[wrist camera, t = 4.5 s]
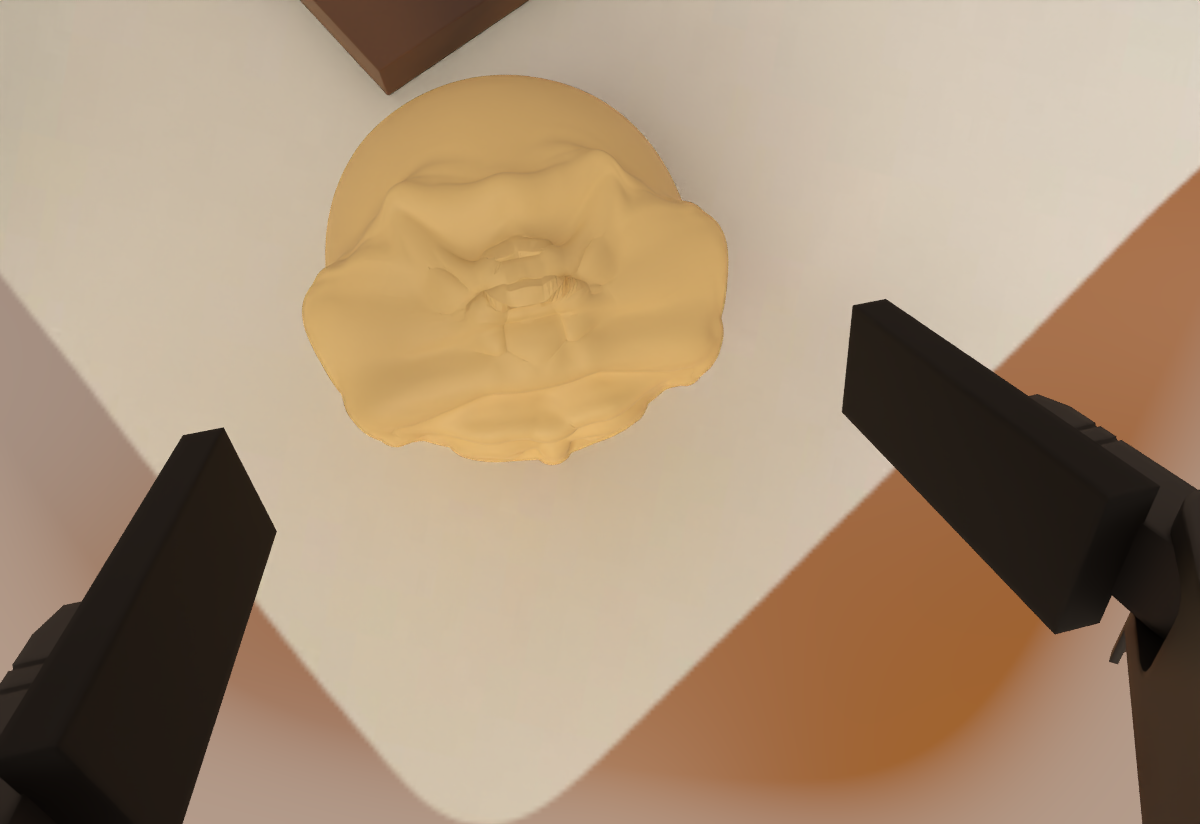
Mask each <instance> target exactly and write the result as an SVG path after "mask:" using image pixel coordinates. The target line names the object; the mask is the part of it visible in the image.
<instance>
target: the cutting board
mask: <svg viewBox="0 0 1200 824" xmlns="http://www.w3.org/2000/svg"><path fill="white" fill-rule="evenodd" d="M300 1H301V2H302V3H303V4H304V5H305V6H306V7H307V8H308V9H309V11H310V12H311V13H312V14H313V15H314V16H315V17H316V18H317V19H318V20H319V21H320V22H321V24H322V25H323V26H324V27H325V28H326V29H327V30H328V31H329V32H330V33H331V34H332V35H333V37H334V38H335V39H336V40H337V41H338V42H339V43H340V44H341V45H342V46H343V47H344V48H345V50H346V51H347V52H348V53H349V54H350V55H351V56H352V57H353V58H354V59H355V60H356V61H357V63H358V64H359V65H360V66H361V67H362V68H363V69H364V70H365V71H366V72H367V73H368V74H369V76H370V77H371V78H372V79H373V80H374V81H375V82H376V83H377V84H378V85H379V86H380V87H381V89H382V90H383V91H384V92H385V93H386V94H387V95H390V94H391V93H393V92H394V91H396V90H397V89H399V88H400V87H402V86H403V85H405V84H406V83H408V82H409V81H410V80H412V79H413V78H415V77H416V76H418V75H419V74H421V73H422V72H424V71H425V70H427V69H428V68H430V67H431V66H433V65H434V64H436V63H437V62H438V61H440V60H441V59H443V58H444V57H446V56H447V55H449V54H450V53H452V52H453V51H455V50H456V49H458V48H459V47H461V46H462V45H463V44H465V43H466V42H468V41H469V40H471V39H472V38H474V37H475V36H477V35H478V34H480V33H481V32H483V31H484V30H486V29H487V28H489V27H490V26H491V25H493V24H494V23H496V22H497V21H499V20H500V19H502V18H503V17H505V16H506V15H508V14H509V13H511V12H512V11H514V10H515V9H516V8H518V7H519V6H521V5H522V4H524V3H525V2H527V1H528V0H300Z"/></svg>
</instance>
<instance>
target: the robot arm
mask: <svg viewBox="0 0 1200 824" xmlns="http://www.w3.org/2000/svg"><path fill="white" fill-rule="evenodd" d="M842 413H843V414H844V415H845V416H846V417H847V418H848V419H849V420H850V421H851V422H852V423H853V424H854V425H855V426H856V427H857V428H858V429H859V430H860V431H861V433H862V434H863V435H864V436H865V437H866V438H867V439H868V440H869V441H870V442H871V443H872V444H873V445H874V446H875V447H876V448H877V449H878V450H879V451H880V452H881V453H882V454H883V456H884V457H885V458H886V459H887V460H888V461H889V462H890V463H891V464H892V465H893V466H894V467H895V468H896V469H897V470H898V471H899V472H900V473H901V474H902V475H903V476H904V477H905V478H906V479H907V481H908V482H909V483H910V484H911V485H912V486H913V487H914V488H915V489H916V490H917V491H918V492H919V493H920V494H921V495H922V496H923V497H924V498H925V499H926V500H927V501H928V502H929V503H930V505H931V506H932V507H933V508H934V509H935V510H936V511H937V512H938V513H939V514H940V515H941V516H942V517H943V518H944V519H945V520H946V521H947V522H948V523H949V524H950V525H951V526H952V528H953V529H954V530H955V531H957V533H958V534H959V535H960V536H961V537H962V538H963V539H964V540H965V541H966V542H967V543H968V544H969V545H970V546H971V547H972V548H973V549H974V551H975V552H976V553H977V554H978V555H979V556H980V557H981V558H982V559H983V560H984V561H985V562H986V563H987V564H988V565H989V566H990V567H991V568H992V569H993V570H994V571H995V572H996V574H998V576H999V577H1000V578H1001V579H1002V580H1003V581H1004V582H1005V583H1006V584H1007V585H1008V586H1009V587H1010V588H1011V589H1012V590H1013V591H1014V592H1015V593H1016V594H1017V595H1018V596H1019V597H1020V598H1021V600H1022V601H1023V602H1024V603H1025V604H1026V605H1027V606H1028V607H1029V608H1030V609H1031V610H1032V611H1033V612H1034V613H1035V614H1036V615H1037V616H1038V617H1039V618H1040V619H1041V620H1042V622H1043V623H1044V624H1045V625H1046V626H1047V627H1048V628H1049V629H1050V630H1051V631H1052V632H1053V633H1054V634H1058V633H1062V632H1066V631H1070V630H1074V629H1078V628H1081V627H1085V626H1090V625H1094V624H1097V623H1100V620H1101V618H1102V616H1103V614H1104V612H1105V609H1106V607H1107V605H1108V603H1109V600H1110V598H1111V596H1114V597H1115V598H1116V599H1117V600H1118V601H1119V602H1120V603H1122V605H1124V606H1125V607H1126V608H1127V609H1128V610H1129V611H1130V614H1129V617H1128V618H1127V621H1126V622H1125V625H1124V627H1123V629H1122V631H1121V633H1120V635H1119V637H1118V640H1117V641H1116V643H1115V646H1114V648H1113V650H1112V652H1111V656H1110V660H1109V662H1112V663H1115V664H1118V663H1119V661H1120V659H1121V657H1122V655H1123V653H1124V652H1127V663H1128V674H1129V684H1130V695H1131V706H1132V717H1133V728H1134V738H1135V749H1136V760H1137V771H1138V781H1139V792H1140V802H1141V814H1142V824H1200V490H1197V489H1196V488H1194V487H1193V486H1191V485H1190V484H1188V483H1187V482H1185V481H1183V480H1182V479H1180V478H1179V477H1177V476H1176V475H1174V474H1173V473H1171V472H1170V471H1168V470H1167V469H1165V468H1164V467H1162V466H1161V465H1159V464H1158V463H1156V462H1154V461H1153V460H1151V459H1150V458H1148V457H1147V456H1145V455H1144V454H1142V453H1141V452H1139V451H1138V450H1136V449H1135V448H1133V447H1131V446H1130V445H1128V444H1127V443H1125V442H1124V441H1122V440H1120V441H1118V440H1117V439H1116V436H1114V435H1113V434H1112V433H1110V432H1109V431H1107V430H1105V429H1104V428H1102V427H1101V426H1100V427H1096V425H1095V422H1093V421H1092V420H1090V419H1089V418H1087V417H1086V416H1084V415H1082V414H1081V413H1079V412H1077V411H1076V410H1075V409H1073V408H1072V407H1070V406H1068V405H1065V404H1062V403H1060V402H1057V401H1054V400H1052V399H1049V398H1046V397H1044V396H1041V395H1038V394H1036V395H1032V396H1027V395H1026V394H1024V393H1023V392H1022V391H1020V390H1019V389H1017V388H1016V387H1014V386H1013V385H1011V384H1010V383H1008V382H1007V381H1005V380H1004V379H1002V378H1001V377H1000V376H998V375H997V374H995V373H994V372H992V371H991V370H989V369H988V368H986V367H985V366H983V365H982V364H980V363H979V362H978V361H976V360H975V359H973V358H972V357H970V356H969V355H967V354H966V353H964V352H963V351H961V350H960V349H958V348H957V347H956V346H954V345H953V344H951V343H950V342H948V341H947V340H945V339H944V338H942V337H941V336H939V335H938V334H936V333H935V332H933V331H932V330H931V329H929V328H928V327H926V326H925V325H923V324H922V323H920V322H919V321H917V320H916V319H914V318H913V317H911V316H910V315H909V314H907V313H906V312H904V311H903V310H901V309H900V308H898V307H897V306H895V305H894V304H892V303H891V302H889V301H888V300H887V299H884V300H879V301H874V302H868V303H863V304H858V305H853V309H852V318H851V328H850V338H849V348H848V358H847V368H846V377H845V387H844V397H843V407H842ZM276 532H277V531H276V529H275V527H274V525H273V523H272V521H271V519H270V517H269V515H268V513H267V511H266V509H265V507H264V505H263V504H262V502H261V500H260V498H259V496H258V494H257V492H256V490H255V488H254V486H253V484H252V482H251V480H250V478H249V476H248V474H247V472H246V470H245V468H244V466H243V464H242V462H241V461H240V459H239V457H238V455H237V453H236V451H235V449H234V447H233V445H232V443H231V441H230V439H229V437H228V435H227V433H226V431H225V429H224V427H223V428H218V429H213V430H208V431H203V432H198V433H193V434H187V435H183V436H182V438H181V439H180V441H179V443H178V444H177V446H176V447H175V449H174V451H173V452H172V454H171V456H170V457H169V459H168V461H167V462H166V464H165V466H164V467H163V469H162V470H161V472H160V474H159V475H158V477H157V479H156V480H155V482H154V484H153V485H152V487H151V489H150V490H149V492H148V494H147V495H146V497H145V498H144V500H143V502H142V503H141V505H140V507H139V508H138V510H137V512H136V513H135V515H134V516H133V518H132V520H131V521H130V523H129V525H128V526H127V528H126V530H125V532H124V533H123V534H122V536H121V538H120V540H119V542H118V543H117V545H116V546H115V548H114V549H113V551H112V553H111V554H110V556H109V557H108V559H107V561H106V562H105V564H104V566H103V567H102V569H101V571H100V572H99V574H98V576H97V577H96V579H95V581H94V582H93V584H92V585H91V587H90V589H89V591H88V592H87V594H86V595H85V597H84V599H83V600H82V602H77V603H72V604H68V605H63V606H62V607H61V608H60V609H59V610H58V611H57V612H56V613H55V614H54V615H53V616H52V617H51V618H50V619H49V620H47V621H46V622H45V623H44V624H43V625H42V626H41V627H40V628H39V629H38V630H37V631H36V632H35V633H34V634H32V636H31V638H30V639H29V640H28V642H27V644H26V645H25V647H24V648H23V650H22V651H21V653H20V654H19V656H18V657H17V659H16V660H15V662H14V663H13V670H12V671H8V673H7V674H6V676H5V677H4V679H3V680H2V682H1V683H0V824H182V823H183V820H184V817H185V814H186V811H187V808H188V805H189V801H190V799H191V796H192V793H193V790H194V786H195V783H196V780H197V777H198V774H199V771H200V768H201V765H202V762H203V758H204V755H205V752H206V749H207V746H208V743H209V740H210V736H211V734H212V730H213V727H214V724H215V721H216V718H217V715H218V712H219V709H220V706H221V703H222V700H223V696H224V693H225V690H226V687H227V684H228V681H229V678H230V675H231V671H232V668H233V665H234V662H235V659H236V656H237V653H238V650H239V647H240V644H241V641H242V637H243V634H244V631H245V628H246V625H247V622H248V619H249V616H250V613H251V610H252V606H253V603H254V600H255V597H256V594H257V591H258V588H259V585H260V582H261V579H262V575H263V572H264V569H265V566H266V563H267V560H268V557H269V554H270V551H271V547H272V544H273V541H274V538H275V535H276Z"/></svg>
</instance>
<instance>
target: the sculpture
mask: <svg viewBox="0 0 1200 824" xmlns="http://www.w3.org/2000/svg"><path fill="white" fill-rule="evenodd" d="M325 260H326V267H325V268H324V269H323V270H321V271H320V272H319V274H318V275H317V276H316V278H315V281H314V282H313V284H312V286H311V287H310V288H309V290H308V292H307V293H306V295H305V298H304V301H303V306H302V317H303V323H304V327H305V331H306V333H307V336H308V338H309V341H310V343H311V345H312V347H313V349H314V351H315V353H316V355H317V357H318V359H319V360H320V362H321V364H322V366H323V368H324V369H325V371H326V373H327V374H328V376H329V378H330V379H331V381H332V383H333V384H334V385H335V387H336V388H337V389H338V391H339V392H340V393H341V395H342V397H343V402H344V406H345V409H346V411H347V413H348V415H349V416H350V418H351V419H352V420H353V422H354V423H355V424H356V425H357V427H358V428H359V429H360V430H362V431H363V432H364V433H365V434H367V435H369V436H370V437H372V438H374V439H377V440H380V441H382V442H383V443H385V444H386V445H388V446H391V447H401V446H404V445H406V444H409V443H412V442H417V441H426V442H430V443H433V444H437V445H441V446H445V447H450V448H451V449H452V450H453V451H454V452H455V453H456V454H458V455H460V456H461V457H464V458H469V459H472V460H477V461H484V462H507V461H520V460H538V459H539V460H540V461H541V462H543V463H545V464H548V465H556V464H559V463H562V462H563V461H565V460H566V459H567V458H568V457H569V455H570V454H571V453H572V452H574V451H577V450H580V449H582V448H584V447H587V446H589V445H592V444H594V443H597V442H600V441H603V440H605V439H608V438H610V437H613V436H615V435H617V434H619V433H620V432H622V431H624V430H625V429H627V428H629V427H630V426H631V425H633V424H634V423H636V422H637V421H638V420H640V418H641V417H642V416H643V415H644V413H645V411H646V408H647V406H648V403H650V402H651V401H652V400H654V399H655V398H656V397H657V396H659V395H660V394H661V393H662V392H663V391H665V390H666V389H669V388H672V387H677V386H689V385H691V384H694V383H695V382H696V381H697V380H698V379H699V378H700V376H702V375H703V374H704V373H705V372H706V371H708V370H709V369H710V368H711V366H712V365H713V364H714V362H715V361H716V359H717V357H718V355H719V352H720V349H721V345H722V341H723V324H722V319H721V316H722V312H723V309H724V304H725V298H726V289H727V278H728V249H727V243H726V239H725V236H724V233H723V231H722V229H721V227H720V226H719V224H718V223H717V222H716V221H715V220H714V219H713V218H712V217H711V216H710V215H708V214H707V213H705V212H704V211H703V210H702V209H701V208H699V207H698V206H697V205H695V204H694V203H691V202H687V201H682V199H681V197H680V195H679V193H678V190H677V188H676V186H675V184H674V181H673V179H672V177H671V175H670V174H669V172H668V170H667V168H666V166H665V165H664V163H663V161H662V160H661V158H660V157H659V155H658V154H657V152H656V151H655V150H654V148H653V147H652V145H651V144H650V143H649V142H648V140H647V139H646V138H645V137H644V136H643V135H642V133H641V132H640V131H639V130H638V129H637V128H636V127H635V126H634V125H633V124H632V123H631V122H630V121H629V120H627V119H626V118H625V117H624V116H623V115H622V114H620V113H619V112H618V111H616V110H615V109H614V108H612V107H611V106H609V105H608V104H606V103H605V102H603V101H602V100H600V99H598V98H596V97H594V96H593V95H591V94H588V93H586V92H584V91H582V90H579V89H577V88H574V87H572V86H569V85H566V84H563V83H559V82H555V81H551V80H547V79H542V78H536V77H529V76H519V75H490V76H481V77H474V78H469V79H464V80H460V81H456V82H453V83H449V84H446V85H444V86H441V87H438V88H436V89H433V90H431V91H429V92H426V93H424V94H422V95H420V96H418V97H416V98H414V99H413V100H411V101H409V102H408V103H406V104H404V105H403V106H401V107H400V108H398V109H397V110H395V111H394V112H393V113H391V114H390V115H389V116H388V117H386V118H385V119H384V120H383V121H382V122H380V123H379V124H378V125H377V126H376V127H375V128H374V129H373V130H372V131H371V132H370V133H369V134H368V135H367V137H366V138H365V139H364V140H363V141H362V143H361V144H360V145H359V147H358V148H357V149H356V151H355V152H354V154H353V155H352V157H351V159H350V160H349V162H348V164H347V166H346V168H345V170H344V172H343V174H342V176H341V178H340V181H339V183H338V186H337V188H336V191H335V194H334V197H333V201H332V205H331V209H330V213H329V218H328V225H327V233H326V247H325Z"/></svg>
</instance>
